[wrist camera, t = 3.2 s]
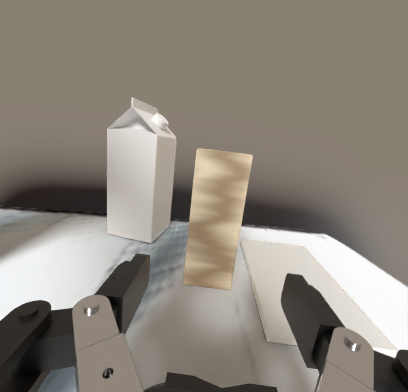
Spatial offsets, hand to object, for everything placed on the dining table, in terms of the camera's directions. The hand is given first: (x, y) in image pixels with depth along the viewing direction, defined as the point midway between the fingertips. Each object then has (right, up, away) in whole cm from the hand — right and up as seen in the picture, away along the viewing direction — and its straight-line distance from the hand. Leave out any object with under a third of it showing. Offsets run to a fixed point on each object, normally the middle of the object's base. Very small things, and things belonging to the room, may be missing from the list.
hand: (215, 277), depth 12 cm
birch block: (0, -4, +12) cm, 13 cm away
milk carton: (-11, -1, +21) cm, 24 cm away
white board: (+10, -5, +12) cm, 17 cm away
